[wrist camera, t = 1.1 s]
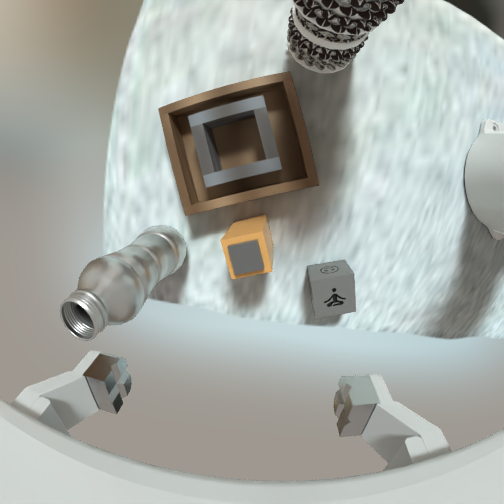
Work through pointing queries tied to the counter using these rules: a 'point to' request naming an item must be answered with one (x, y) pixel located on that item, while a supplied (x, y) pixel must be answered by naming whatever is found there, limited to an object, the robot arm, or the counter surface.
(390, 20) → the counter surface
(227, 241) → the block
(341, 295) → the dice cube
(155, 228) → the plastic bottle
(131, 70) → the counter surface
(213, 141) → the walled box
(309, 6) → the decorative candle
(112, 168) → the counter surface
